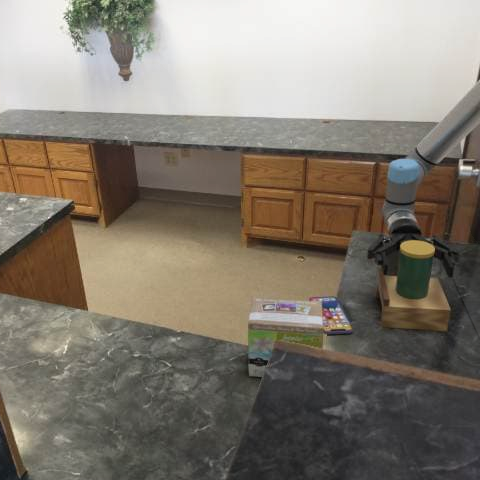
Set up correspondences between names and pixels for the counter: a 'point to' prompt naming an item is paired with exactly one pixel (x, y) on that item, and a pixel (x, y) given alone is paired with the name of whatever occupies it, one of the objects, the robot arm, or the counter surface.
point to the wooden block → (412, 306)
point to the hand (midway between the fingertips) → (418, 271)
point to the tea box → (281, 327)
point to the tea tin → (414, 269)
